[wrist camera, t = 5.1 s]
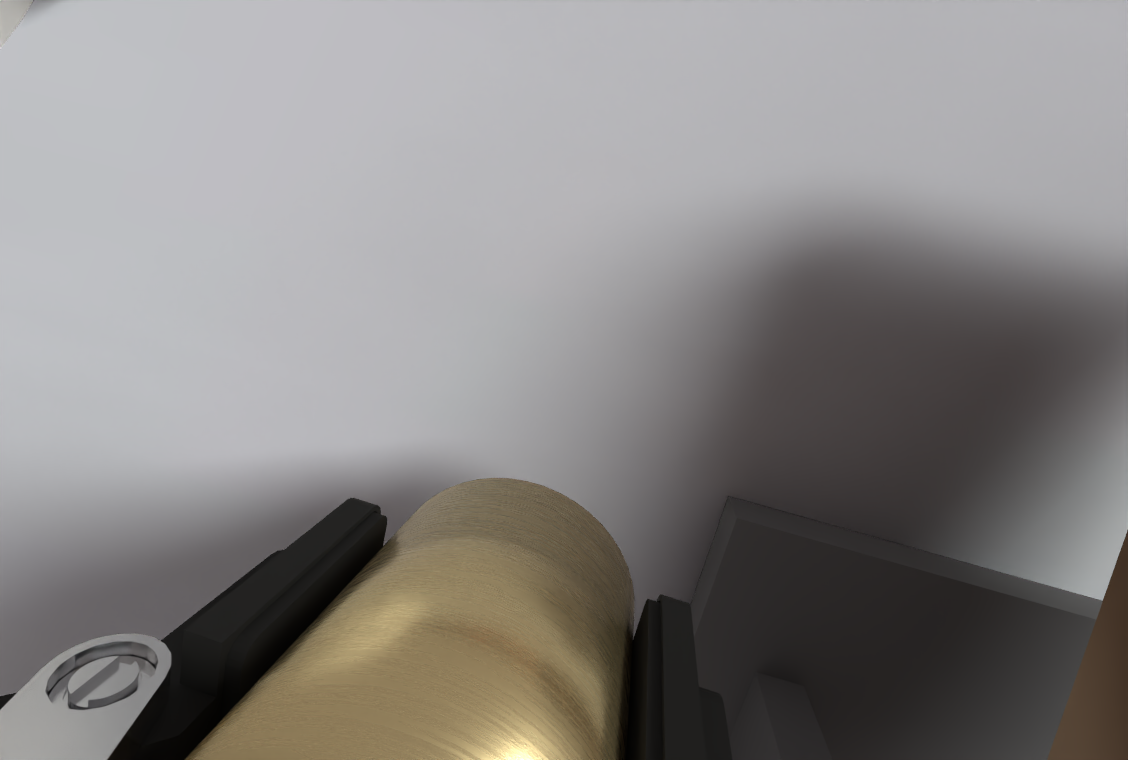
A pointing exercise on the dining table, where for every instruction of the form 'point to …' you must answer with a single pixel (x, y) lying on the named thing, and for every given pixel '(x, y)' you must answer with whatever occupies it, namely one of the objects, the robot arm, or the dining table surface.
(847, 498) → the dining table surface
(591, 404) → the dining table surface
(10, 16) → the dome cover
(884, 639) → the beam stand
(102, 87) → the dining table surface
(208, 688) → the robot arm
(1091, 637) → the balance beam
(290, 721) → the brass weight
